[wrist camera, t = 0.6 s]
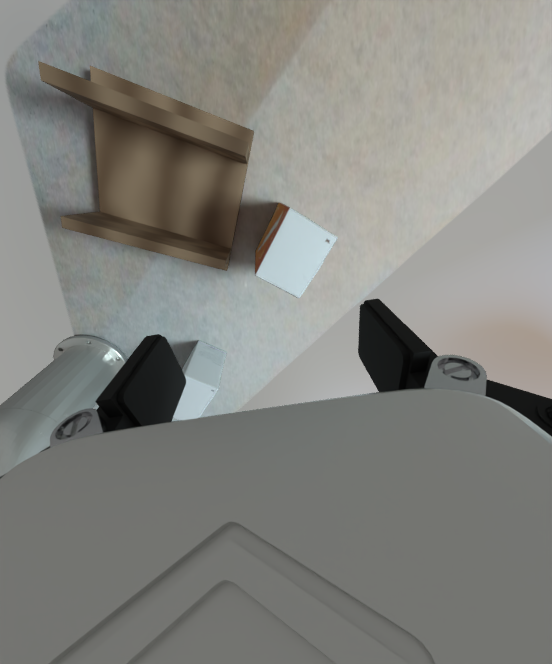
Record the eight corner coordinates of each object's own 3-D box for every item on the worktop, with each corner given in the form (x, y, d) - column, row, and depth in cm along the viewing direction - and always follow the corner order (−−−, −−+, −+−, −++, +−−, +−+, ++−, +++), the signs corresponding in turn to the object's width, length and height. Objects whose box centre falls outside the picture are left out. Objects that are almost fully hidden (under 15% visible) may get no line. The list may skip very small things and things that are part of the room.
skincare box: (196, 338, 45) (182, 374, 36) (227, 351, 47) (220, 389, 38) (177, 375, 49) (159, 415, 40) (205, 385, 51) (195, 426, 42)
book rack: (253, 133, 30) (253, 112, 22) (227, 268, 38) (221, 286, 31) (97, 71, 26) (32, 20, 18) (107, 236, 35) (65, 248, 27)
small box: (278, 201, 34) (289, 205, 23) (313, 223, 36) (340, 237, 25) (253, 251, 37) (253, 276, 26) (287, 269, 39) (300, 300, 28)
